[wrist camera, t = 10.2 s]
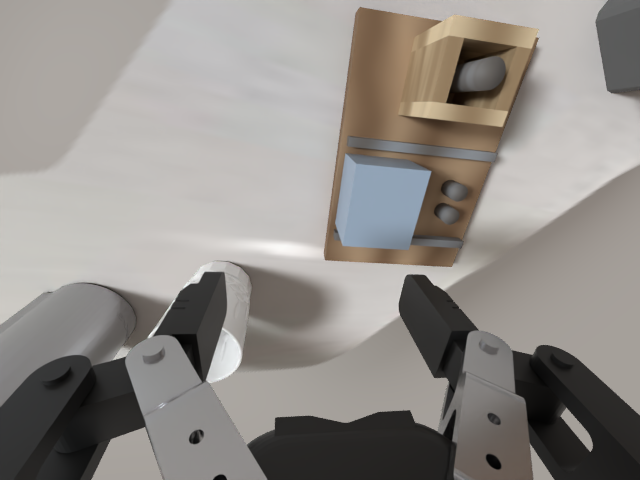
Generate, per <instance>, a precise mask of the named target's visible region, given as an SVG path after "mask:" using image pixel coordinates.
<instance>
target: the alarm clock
mask: <svg viewBox="0 0 640 480" xmlns="http://www.w3.org/2000/svg"><path fill="white" fill-rule="evenodd" d="M596 27H597V33H598V39H599V45H600V51H601V57H602V63H603V69H604V74H605V80H606V86H607V91H609V92H611V93H617V92H625V91H634V90H640V0H608V1H607V2H606V4H605V5H604V6H603V8H602V9H601V10H600V11H599V13H598V16H597V19H596Z"/></svg>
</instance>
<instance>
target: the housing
mask: <svg viewBox="0 0 640 480" xmlns="http://www.w3.org/2000/svg"><path fill="white" fill-rule="evenodd" d="M430 175H431V171H430V170H428V169H426V168H424V167H422V166H420V165H418V164H416V163H414V162H412V161H410V160H407V159H397V158H388V157H378V156H368V155H359V154H349V153H345V159H344V166H343V173H342V180H341V187H340V194H339V200H338V207H337V214H336V221H335V224H336V227H337V230H338V233H339V236H340V239H341V242H342V245H343V246H350V247H367V248H383V249H400V250H409V247H410V244H411V240H412V237H413V233H414V230H415V226H416V223H417V220H418V216H419V213H420V209H421V206H422V202H423V199H424V195H425V192H426V188H427V185H428V181H429V178H430Z"/></svg>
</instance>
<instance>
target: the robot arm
mask: <svg viewBox="0 0 640 480" xmlns="http://www.w3.org/2000/svg"><path fill="white" fill-rule="evenodd" d="M399 312H400V316H401V317H402V319H403V321H404V323H405V325H406V327H407V329H408V330H409V332H410V334H411V336H412V338H413V340H414V341H415V343H416V345H417V347H418V349H419V351H420V353H421V354H422V356H423V358H424V360H425V362H426V364H427V365H428V367H429V369H430V371H431V373H432V375H433V376H434V378H447V379H448V381H449V383H448V385H447V388H446V393H445V398H444V403H443V408H442V413H441V418H440V423H439V427H438V431H435V430H434V429H431V428H429V427H427V426H425V425H422V424H418V423H415V422H414V419H413V416H412V414H411V412H410V410H408V411H391V412H377V413H375V414H372V415H369V416H366V417H364V418H361V419H358V420H355V421H352V422H350V423H341V422H337V421H332V420H328V419H323V418H318V417H314V416H295V417H277V418H275V430H273V431H270V432H267V433H265V434H263V435H261V436H259V437H257V438H256V439H254V440H253V441H251V442H250V443H249V444H247V445H246V443H245V442H244V440H243V438H242V437H241V435H240V433H239V432H238V430H237V428H236V427H235V425H234V423H233V422H232V420H231V418H230V417H229V415H228V413H227V412H226V410H225V408H224V407H223V405H222V403H221V402H220V400H219V399H218V397H217V395H216V394H215V392H214V390H213V389H212V387H211V385H210V384H209V382H208V381H206V379H207V375H208V372H209V369H210V366H211V362H212V359H213V356H214V353H215V350H216V346H217V343H218V340H219V337H220V333H221V330H222V327H223V324H224V321H225V317H226V313H227V293H226V281H225V273H224V272H204V274H203V275H202V277H201V279H200V281H199V283H190V284H189V285H188V286H186V287H185V288H184V289H182V290H181V291H180V293H179V294H178V296H177V298H176V299H175V302H173V304H172V306H171V308H170V309H169V311H168V312H167V314H166V316H165V317H164V319H163V321H162V322H161V324H160V326H159V327H158V329H157V330H156V332H155V334H154V335H153V337H150V338H148V339H145V340H143V341H141V342H140V343H138V344H137V345H135V346H134V347H133V348H132V349H131V350H130V351H129V353H128V354H127V356H126V357H124V358H120V359H117V360H113V358H114V357H115V355H116V354H117V353H118V351H119V350H120V348H121V347H122V346H123V344H124V343H125V342H126V340H127V339H128V337H129V336H130V335H131V333H132V332H133V330H134V328H135V324H136V318H135V314H134V311H133V309H132V308H131V306H130V305H129V304H128V303H127V302H126V301H125V300H124V299H123V298H122V297H121V296H119V295H118V294H116V293H115V292H113V291H111V290H109V289H107V288H104V287H101V286H98V285H93V284H86V283H76V284H69V285H66V286H63V287H61V288H60V289H58V290H56V291H55V292H52V293H43V294H41V295H40V296H39V297H37V298H36V299H35V300H33V301H32V302H31V303H29V304H28V305H27V306H25V307H24V308H22V309H21V310H20V311H18V312H17V313H16V314H14V315H13V316H12V317H10V318H9V319H8V320H6V321H5V322H4V323H2V324H1V325H0V480H91V479H92V477H93V475H94V472H95V471H96V468H97V467H98V464H99V462H100V460H101V458H102V456H103V454H104V452H105V450H106V448H107V446H108V444H109V442H110V440H111V439H112V438H115V437H118V436H120V435H124V434H126V433H129V432H132V431H135V430H138V429H141V428H143V427H145V428H146V431H147V433H148V437H149V440H150V443H151V445H152V448H153V452H154V455H155V457H156V460H157V463H158V466H159V469H160V472H161V475H162V478H163V480H533V471H532V461H531V451H530V444H531V445H532V447H533V448H534V450H535V451H536V453H537V454H538V456H539V457H540V459H541V460H542V462H543V463H544V465H545V466H546V468H547V469H548V470H549V472H550V474H551V475H552V477H553V478H554V479H555V480H640V415H639V414H638V413H636V412H635V411H634V410H633V409H632V408H631V407H630V406H629V405H628V404H627V403H625V402H624V401H623V400H622V399H621V398H620V397H619V396H618V395H617V394H616V393H614V392H613V391H612V390H611V389H610V388H609V387H608V386H607V385H606V384H605V383H604V382H602V381H601V380H600V379H599V378H598V377H597V376H596V375H595V374H594V373H593V372H591V371H590V370H589V369H588V368H587V367H586V366H585V365H584V364H583V363H581V362H580V361H579V360H578V359H577V358H575V357H574V356H573V355H571V354H569V353H568V352H565V351H564V350H562V349H559V348H556V347H553V346H548V345H541V346H538V347H537V348H536V350H535V352H534V354H533V355H530V354H525V353H521V352H517V351H512V350H511V349H510V347H509V346H508V345H507V344H506V343H505V342H504V341H503V340H502V339H500V338H499V337H497V336H495V335H493V334H491V333H488V332H485V331H479V330H478V329H477V328H476V326H475V325H474V324H473V323H472V322H471V321H470V319H469V318H468V317H467V316H466V315H465V314H464V312H463V311H462V310H461V309H459V307H458V306H457V304H455V302H453V300H452V299H451V298H450V296H449V295H448V294H447V293H446V292H445V291H443V290H442V289H440V288H439V287H437V286H434V285H433V284H432V283H431V281H430V280H429V279H428V278H427V277H426V276H425V275H407V276H406V277H405V280H404V284H403V288H402V292H401V296H400V300H399ZM112 360H113V361H112ZM566 407H567V408H568V410H569V411H570V412H571V413H572V414H573V415H574V416H575V418H576V419H577V420H578V421H579V422H580V423H581V424H582V426H583V427H584V428H585V429H586V430H587V431H588V433H589V435H590V437H591V439H592V442H593V449H592V451H591V452H590V451H589V450H588V449H587V448H586V447H585V445H584V444H583V443H582V442H581V441H580V439H579V438H578V437H577V436H576V435H575V433H574V432H573V431H572V430H571V429H570V427H569V426H568V425H567V424H566V423H565V421H564V420H563V419H562V418H561V417H560V416H561V414H562V413H563V411H564V410H565V409H566Z"/></svg>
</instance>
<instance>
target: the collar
mask: <svg viewBox="0 0 640 480" xmlns="http://www.w3.org/2000/svg"><path fill="white" fill-rule="evenodd" d="M538 30H539V29H535V28H529V27H523V26H517V25H511V24H506V23H500V22H494V21H488V20H482V19H476V18H471V17H465V16H459V15H453V16H451V17H449V18H448V19H446V20H444V21H442V22H440V23H439V24H437V25H435V26H433V27H432V28H430V29H428V30H426V31H425V32H423V33H421V34H419V35H417V36H416V37H414V42H413V47H412V51H411V56H410V61H409V65H408V70H407V75H406V79H405V84H404V89H403V94H402V98H401V103H400V108H399V112H398V115H403V116H411V117H420V118H428V119H436V120H445V121H453V122H462V123H471V124H480V125H489V126H498V127H503V124H504V121H505V119H506V116H507V113H508V111H509V108H510V105H511V103H512V100H513V97H514V95H515V92H516V89H517V87H518V84H519V81H520V79H521V76H522V73H523V71H524V68H525V65H526V63H527V60H528V57H529V55H530V52H531V49H532V47H533V44H534V41H535V38H536V36H537V33H538ZM492 56H498V57H500V58H502V59H503V60H504V62H505V66H506V71H505V75H504V78H503V80H502V81H501V83H500V84H499V85H498V86H497V87H495V88H494V89H492V90H485V91H471V92H457V93H455V94H454V98H453V101H452V104H447V103H446V101H447V98H448V94H449V91H450V87H451V84H452V80H453V76H454V73H455V69H456V66H457V62H458V59H459V60H464V63H468V62H472V61H476V60H480V59H484V58H488V57H492Z"/></svg>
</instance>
